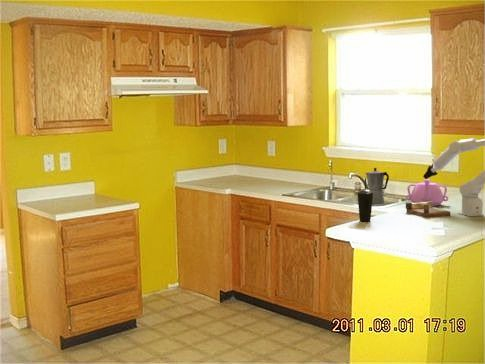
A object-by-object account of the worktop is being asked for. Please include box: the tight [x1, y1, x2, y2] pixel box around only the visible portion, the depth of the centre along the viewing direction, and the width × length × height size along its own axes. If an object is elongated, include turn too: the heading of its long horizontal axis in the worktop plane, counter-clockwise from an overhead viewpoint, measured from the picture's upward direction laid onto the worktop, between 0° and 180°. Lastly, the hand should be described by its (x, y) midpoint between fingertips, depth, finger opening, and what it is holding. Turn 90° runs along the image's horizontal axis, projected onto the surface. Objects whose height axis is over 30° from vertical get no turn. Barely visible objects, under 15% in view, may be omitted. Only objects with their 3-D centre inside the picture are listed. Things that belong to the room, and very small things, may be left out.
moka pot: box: [365, 167, 390, 206], centre depth 324 cm, size 10×15×20 cm, turn 44°
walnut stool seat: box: [406, 204, 451, 218], centre depth 292 cm, size 16×14×6 cm
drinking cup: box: [356, 177, 374, 223], centre depth 274 cm, size 8×8×20 cm
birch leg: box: [405, 201, 434, 210], centre depth 298 cm, size 15×3×3 cm, turn 107°
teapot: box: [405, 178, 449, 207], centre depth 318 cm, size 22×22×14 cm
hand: (427, 174), depth 307 cm, fingers open, 7 cm apart
